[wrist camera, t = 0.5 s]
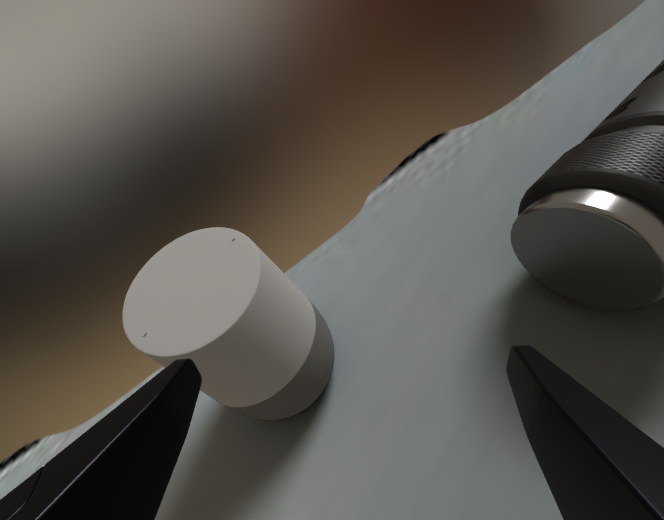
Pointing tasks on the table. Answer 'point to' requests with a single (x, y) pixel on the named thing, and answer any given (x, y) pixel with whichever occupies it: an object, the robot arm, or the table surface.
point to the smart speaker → (231, 323)
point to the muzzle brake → (603, 210)
